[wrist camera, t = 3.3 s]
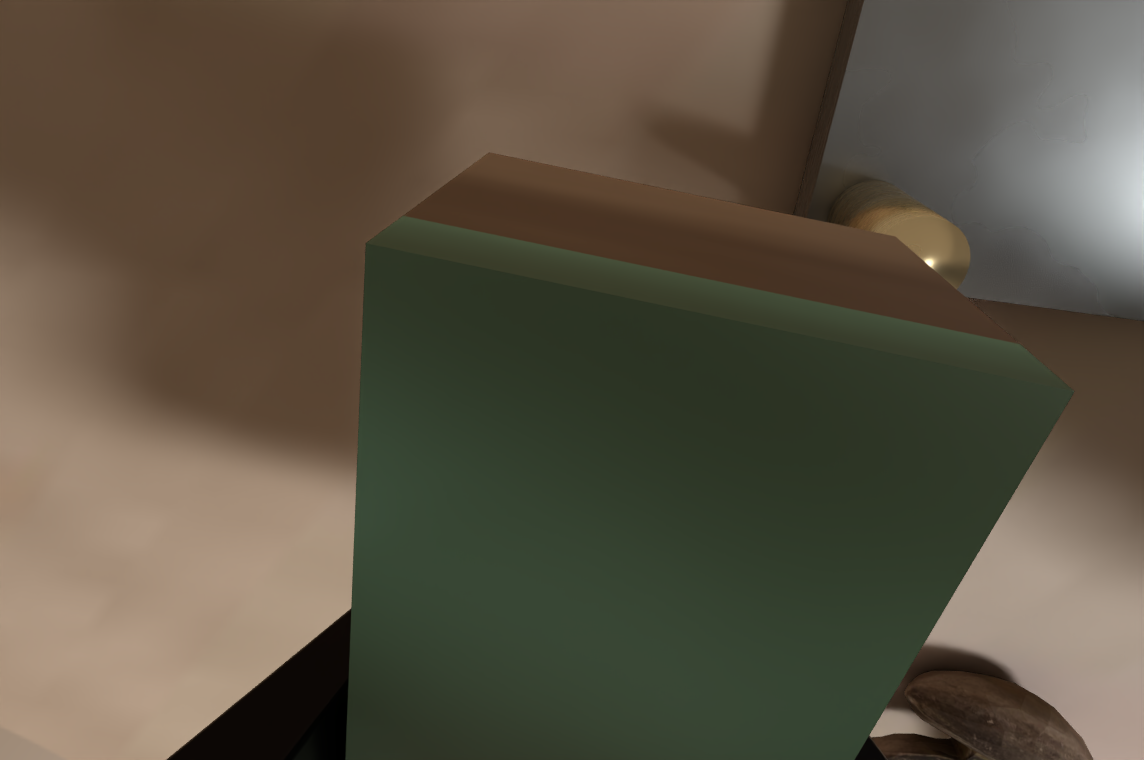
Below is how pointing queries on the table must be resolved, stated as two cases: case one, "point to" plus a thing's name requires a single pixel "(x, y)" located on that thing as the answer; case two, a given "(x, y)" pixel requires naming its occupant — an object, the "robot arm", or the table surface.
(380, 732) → the board block
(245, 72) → the table surface
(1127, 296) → the plate
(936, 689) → the bronze antique clock
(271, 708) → the robot arm
